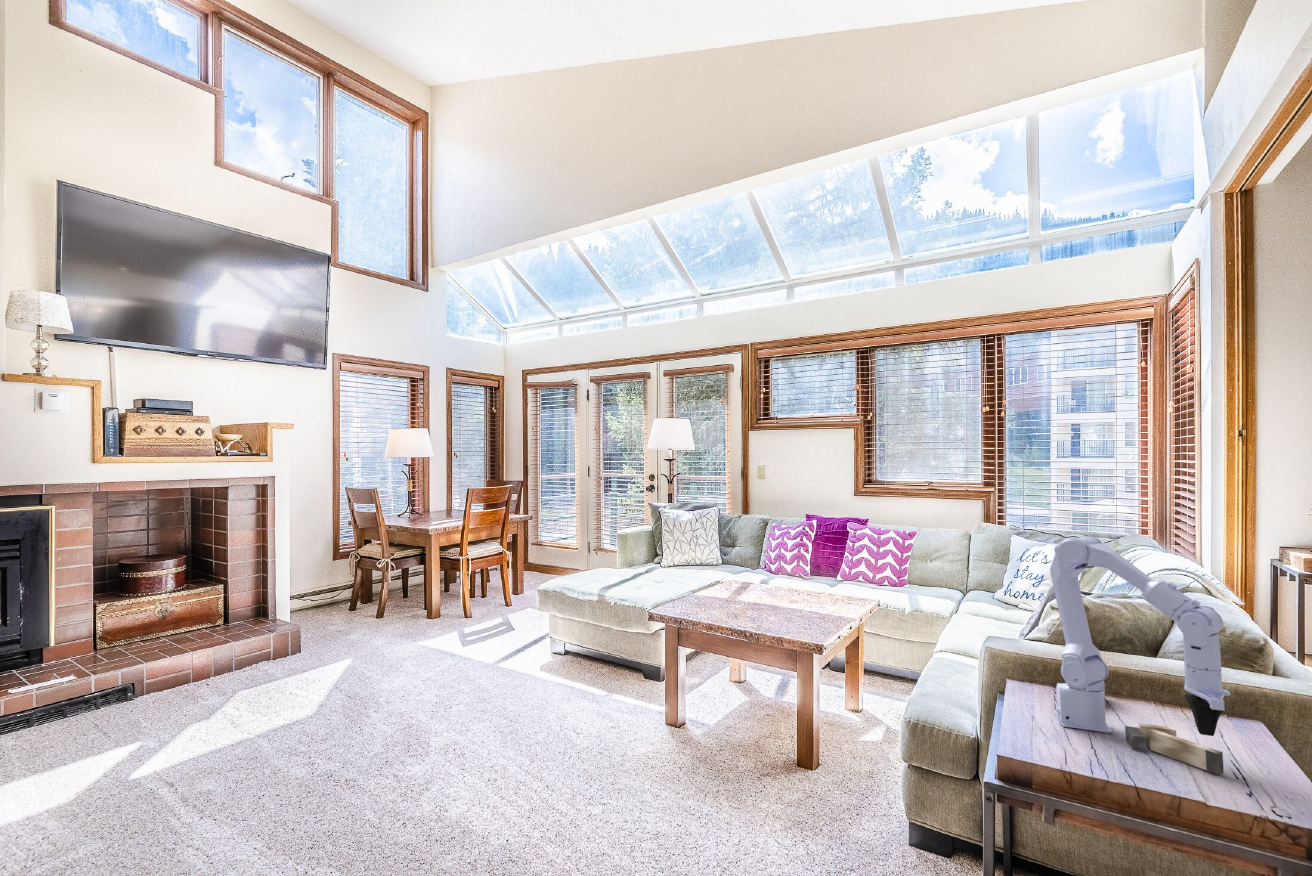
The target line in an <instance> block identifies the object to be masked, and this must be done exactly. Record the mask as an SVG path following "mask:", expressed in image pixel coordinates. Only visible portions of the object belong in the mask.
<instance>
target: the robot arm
mask: <svg viewBox="0 0 1312 876" xmlns="http://www.w3.org/2000/svg"><path fill="white" fill-rule="evenodd" d="M1053 551H1054V555H1053V558H1052V559H1053V560H1052V562H1051V565H1050V569H1049V573H1050V578H1051V583H1052V586H1053V591H1054V596H1055V601H1056V604H1057V609H1058V610H1057V611H1058V614H1059V618H1060V622H1061V627H1062V633H1063V637H1064V642H1065V646H1064V648H1063V650H1062V652H1061V659H1062V662H1061V667H1060V674H1061V676H1062V678H1063V679H1064V681H1065V683H1061V682H1060V683H1059V682H1058V683H1056V688H1055V689H1056V714H1057V715H1056V716H1057V718H1058V719H1059V722H1060V723H1061V726H1062V727H1065V728H1074V729H1080V730H1086V731H1091V732H1092V731H1093V732H1100V733H1107V734H1108V733H1109V734H1112V730H1111V728H1110V727H1109V725H1108V724H1107V720H1106V719H1107V718H1106V702H1105V695H1104V686H1103V681H1104V682H1105V680H1106V679H1108V676H1109V668H1108V665H1107V663H1106V662H1105V661H1104V660H1103V658H1102V655H1101V651H1100V649H1098V648H1097V647H1096V645H1094V644H1093V640H1092V636H1091V632H1090V627H1089V622H1088V618H1087V614H1086V609H1085V605H1084V600H1083V596H1082V595H1083V594H1082V591H1081V587H1080V583H1079V578H1078V577H1079V575H1081V574H1082V572H1084V571H1085V569H1087V568H1088V567H1090V566H1091V567H1094V568H1095V567H1096V568H1104V569H1107V570H1108V571H1110V572H1112V573H1113V574H1115V575H1117V576H1118V577H1120V578H1121V579H1122V580H1124V581H1126V582H1127V583H1128V584H1131V585H1132V586H1133V587H1135V588H1136V589H1138V590H1140V591H1141V592H1142V597H1143V599H1144V601H1146V602H1147V603H1148V604H1150V605H1151V606H1153V607H1154V608H1156V609H1157V610H1158V611H1160V612H1161V613H1162V614H1164V615H1165V616H1167V617H1168V618H1169V619H1171V620H1172V621H1174V622H1176V625H1177V627H1178V629H1179V631H1180V632H1182V637H1183V640H1182V641H1183V643H1182V645H1183V662H1184V685H1183V687H1184V690H1185V692H1188V693H1190V694H1188V693H1187V694H1184V695H1183V697H1184V698H1185V700H1186V703H1187V704H1188V705H1189V707H1190V710H1191V712H1192V715H1193V719H1194V722H1195V725H1196V729H1197V732H1198V733H1199V734H1200V735H1203V736H1210V737H1214V736H1215V733H1216V729H1217V725H1218V722H1219V719H1220V717H1221V716H1222V713H1223V712H1225V710H1226V707H1227V705H1226V704H1225V700H1224V697H1225V696H1226V697H1227V696H1228V697H1230V696H1231V692H1230V691H1229V690H1227V689H1223V682H1222V658H1221V646H1220V633H1219V632H1220V631H1222V629H1223V627H1224V621H1223V618H1222V616H1221V615H1220V613H1219V612H1217V611H1216V610H1215V609H1214V608H1213V607H1212V606H1208V605H1201V602H1200V601H1199V600H1197V599H1195V600H1194V599H1192V598H1190V597H1189V596H1188V595H1186V594H1185V593H1183V592H1182V591H1180V590H1179V589H1178V588H1177V587H1178V586H1177V584H1175V583H1174V582H1167V581H1165V580H1154V579H1153V578H1152V577H1150V576H1149V575H1147V574H1146V573H1145V572H1143V570H1140V569H1139V568H1138V567H1137V566H1135V565H1134V564H1133V563H1132V562H1130V561H1129V560H1128V559H1126V558H1125V557H1123V556H1121V554H1120V553H1118V552H1116V551H1115V549H1114V548H1112V547H1111V546H1110V545H1109V544H1107V543H1105V542H1102V541H1101V540H1100V539H1099V538H1097V537H1094V536H1089V535H1085V536H1082V537H1067V538H1064V539H1063V540H1061V541H1060V542H1059V543H1058V544H1057V545H1056V546H1055V547H1054V548H1053Z"/></svg>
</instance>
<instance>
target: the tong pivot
mask: <svg viewBox="0 0 1312 876" xmlns="http://www.w3.org/2000/svg"><path fill="white" fill-rule="evenodd" d="M1138 724H1139V725H1138V726H1139V727H1135V726H1131V725H1130V726H1128V725H1125V726H1124V728H1125V741H1126V742H1127V744H1128V745H1129V746H1130V748H1131V749H1132V750H1133V751H1139V752H1145V753H1146V752H1147V750H1148V749H1147V748H1150V738H1149V730H1152V729H1155V730H1158V731H1161V732H1164V733H1167V734H1170V735H1173V736H1175V737H1177V730H1176V729H1175V728H1174V727H1172V726H1166V725H1165V726H1164V725H1157V724H1148V723H1143V722H1142V723H1141V722H1139V723H1138Z"/></svg>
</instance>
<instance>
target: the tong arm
mask: <svg viewBox="0 0 1312 876" xmlns="http://www.w3.org/2000/svg"><path fill="white" fill-rule="evenodd" d="M1149 738H1150V747H1149V750H1151V751H1153V752H1155V753H1158V754H1161V755H1164V756H1167V757H1169V758H1171V759H1172V758H1173V759H1175V760H1178V761H1180V762H1183V763H1185V764H1188V765H1191V766H1194V767H1197V768H1199V769H1202V770H1204V771H1206V772H1209V773H1211V774H1214V775H1217V776H1219V775H1222V774H1224V772H1225V771H1224V770H1225V769H1224V767H1225V766H1224V754H1223V753H1224V752H1223V751H1221V750H1218V749H1215V748H1210V747H1207V746H1204V745H1202V744H1199V743H1196V742H1192V741H1191V740H1187V739H1183V738H1181V737H1177V736H1176V737H1175V736H1173V735H1170V734H1167V733H1164V732H1161V731H1158V730H1155V729H1152V730H1149Z"/></svg>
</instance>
